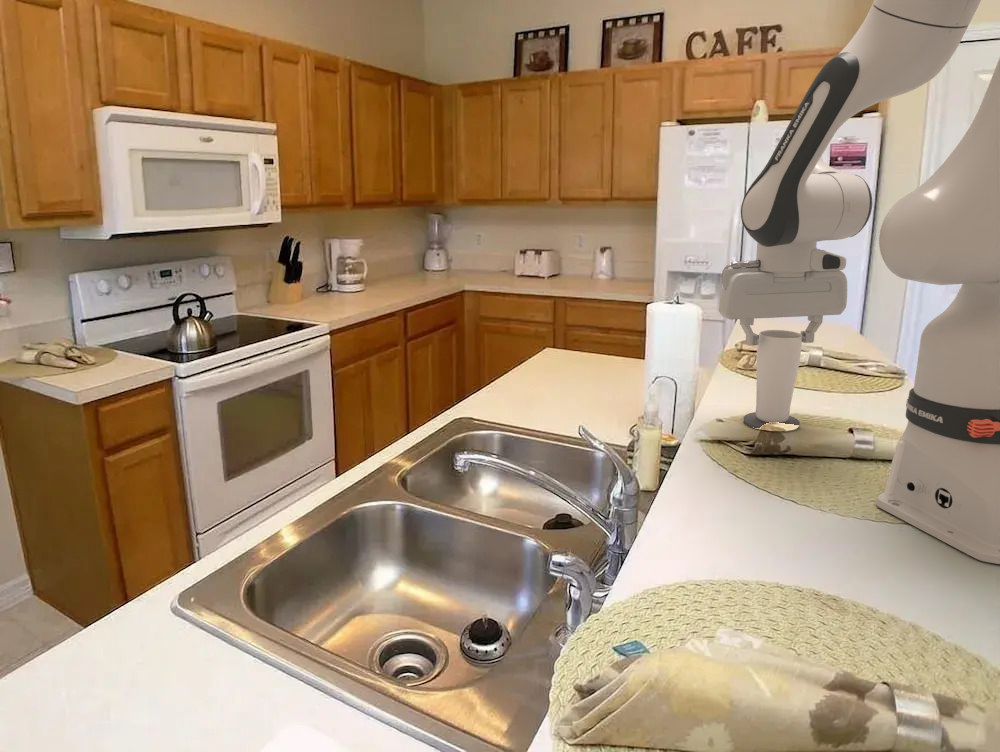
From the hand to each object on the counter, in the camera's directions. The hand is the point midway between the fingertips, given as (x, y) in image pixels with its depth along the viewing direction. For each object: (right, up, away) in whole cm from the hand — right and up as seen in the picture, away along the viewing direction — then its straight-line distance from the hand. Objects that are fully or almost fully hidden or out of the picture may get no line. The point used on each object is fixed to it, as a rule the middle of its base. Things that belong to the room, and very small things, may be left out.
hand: (779, 343), depth 114 cm
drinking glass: (0, -13, +4) cm, 14 cm away
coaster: (0, -14, +4) cm, 14 cm away
